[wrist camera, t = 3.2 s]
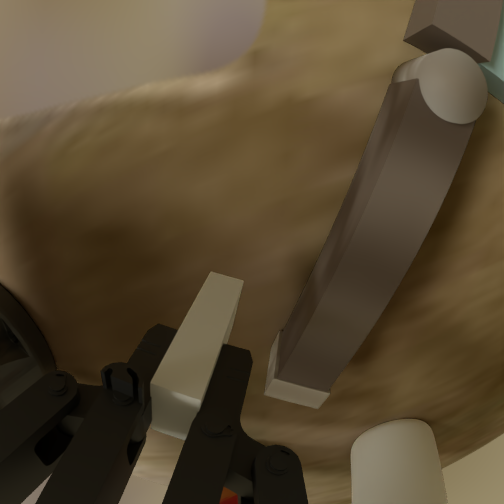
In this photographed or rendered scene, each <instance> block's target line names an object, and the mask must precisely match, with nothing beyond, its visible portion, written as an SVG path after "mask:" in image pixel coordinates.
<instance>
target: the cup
mask: <svg viewBox="0 0 504 504" xmlns="http://www.w3.org/2000/svg"><path fill="white" fill-rule="evenodd" d="M351 485H352V504H448V502H447V496H446V490H445V485H444V479H443V474H442V469H441V464H440V459H439V455H438V450H437V446H436V441H435V437H434V434H433V431H432V429H431V427H430V426H429V425H428V424H427V423H425V422H423V421H421V420H418V419H398V420H393V421H389V422H385V423H382V424H379V425H377V426H375V427H372V428H370V429H369V430H367V431H365V432H364V433H362V434H361V435H360V436H359V437H358V438H357V439H356V440H355V442H354V444H353V446H352V448H351Z"/></svg>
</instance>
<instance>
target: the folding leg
mask: <svg viewBox="0 0 504 504" xmlns="http://www.w3.org/2000/svg"><path fill="white" fill-rule="evenodd" d="M487 98H488V89H487V83H486V79H485V77H484V74H483V72H482V70H481V69H480V67H479V66H478V64H477V63H476V62H475V61H474V60H473V59H472V58H471V57H470V56H469V55H467V54H466V53H464V52H462V51H460V50H457V49H452V48H445V49H441V50H438V51H435V52H432V53H429V54H426V55H423V56H421V57H418V58H415V59H412V60H410V61H407V62H405V63H403V64H401V65H400V66H399V67H398V68H397V69H396V70H395V72H394V74H393V77H392V82H391V84H390V85H389V88H388V90H387V93H386V96H385V99H384V101H383V104H382V107H381V110H380V112H379V115H378V118H377V120H376V123H375V125H374V128H373V131H372V133H371V136H370V138H369V141H368V143H367V146H366V149H365V151H364V154H363V156H362V158H361V161H360V163H359V166H358V168H357V171H356V173H355V176H354V178H353V180H352V183H351V185H350V188H349V190H348V192H347V195H346V197H345V199H344V202H343V204H342V206H341V209H340V211H339V213H338V216H337V218H336V220H335V222H334V225H333V227H332V229H331V231H330V234H329V236H328V238H327V240H326V243H325V245H324V247H323V249H322V251H321V254H320V256H319V258H318V260H317V262H316V264H315V266H314V269H313V271H312V273H311V275H310V277H309V279H308V281H307V283H306V286H305V288H304V290H303V292H302V294H301V296H300V298H299V300H298V302H297V304H296V306H295V308H294V310H293V312H292V314H291V316H290V318H289V320H288V322H287V324H286V326H285V328H284V330H283V331H279V333H278V335H277V337H276V339H275V341H274V343H273V345H272V347H271V352H270V358H269V365H268V372H267V378H266V385H265V391H264V395H266V396H270V397H273V398H277V399H281V400H284V401H288V402H292V403H296V404H300V405H304V406H308V407H312V408H316V409H318V408H319V407H320V406H321V405H322V403H323V402H324V401H325V400H326V398H327V397H328V396H329V395H330V387H331V386H332V384H333V383H334V382H335V380H336V379H337V378H338V376H339V375H340V374H341V372H342V371H343V370H344V368H345V367H346V366H347V364H348V363H349V361H350V360H351V359H352V357H353V356H354V354H355V353H356V351H357V350H358V349H359V347H360V346H361V344H362V343H363V341H364V340H365V338H366V337H367V335H368V334H369V332H370V331H371V329H372V328H373V326H374V325H375V323H376V322H377V320H378V319H379V317H380V315H381V314H382V312H383V311H384V309H385V307H386V306H387V304H388V303H389V301H390V299H391V298H392V296H393V294H394V293H395V291H396V289H397V288H398V286H399V284H400V283H401V281H402V279H403V277H404V276H405V274H406V272H407V270H408V269H409V267H410V265H411V263H412V262H413V260H414V258H415V256H416V254H417V252H418V251H419V249H420V247H421V245H422V243H423V241H424V239H425V237H426V235H427V233H428V231H429V229H430V227H431V225H432V223H433V221H434V219H435V217H436V215H437V213H438V211H439V209H440V207H441V205H442V203H443V201H444V198H445V196H446V194H447V192H448V190H449V187H450V185H451V183H452V181H453V178H454V176H455V174H456V171H457V169H458V166H459V164H460V162H461V159H462V157H463V154H464V152H465V149H466V146H467V144H468V141H469V138H470V136H471V133H472V130H473V128H474V125H475V122H476V119H477V118H478V117H479V116H480V115H481V114H482V113H483V111H484V109H485V107H486V103H487Z"/></svg>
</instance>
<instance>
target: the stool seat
mask: <svg viewBox="0 0 504 504" xmlns="http://www.w3.org/2000/svg"><path fill="white" fill-rule="evenodd" d="M403 41H405V42H407V43H409V44H411V45H413V46H415V47H417V48H419V49H421V50H423V51H424V52H426V53H428V54H429V53H432V52H435V51H438V50H441V49H445V48H452V49H457V50H460V51H462V52H464V53H466V54H467V55H469V56H470V57H471V58H472V59H473V60H474V61H475V62H476V63H477V64H478V66H479V67H480V69H481V70H482V72H483V74H484V77H485V79H486V83H487V89H488V92H489V93H490V94H492V95H493V96H494V97H496V98H497V99H498V100H500V101H501V102H502V103H504V0H416V1H415V4H414V8H413V11H412V14H411V17H410V21H409V24H408V27H407V30H406V33H405V36H404V40H403Z"/></svg>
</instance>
